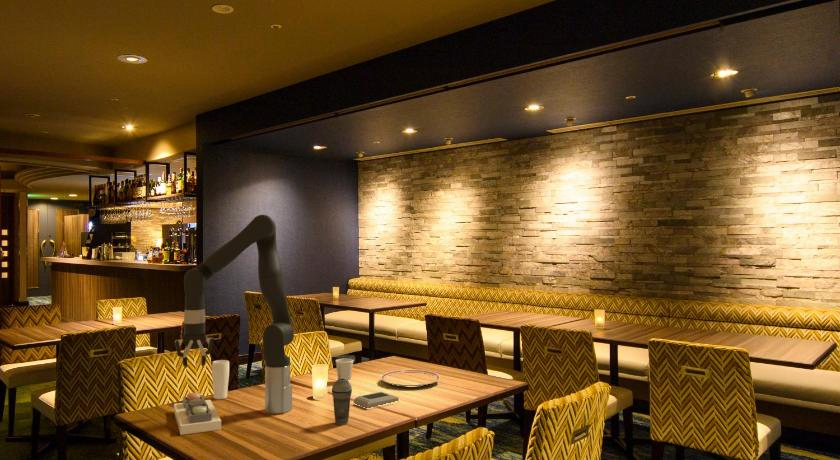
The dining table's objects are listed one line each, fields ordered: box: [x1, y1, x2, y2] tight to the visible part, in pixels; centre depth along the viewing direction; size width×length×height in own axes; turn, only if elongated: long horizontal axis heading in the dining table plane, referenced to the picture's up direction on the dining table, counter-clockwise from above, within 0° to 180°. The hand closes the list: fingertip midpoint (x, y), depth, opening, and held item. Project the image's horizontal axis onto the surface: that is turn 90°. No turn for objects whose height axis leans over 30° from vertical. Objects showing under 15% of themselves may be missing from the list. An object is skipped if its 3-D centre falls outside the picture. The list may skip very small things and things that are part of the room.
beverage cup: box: [331, 366, 353, 425], centre depth 209 cm, size 7×7×20 cm
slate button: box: [190, 399, 203, 408], centre depth 212 cm, size 5×5×2 cm
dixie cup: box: [335, 358, 355, 380], centre depth 270 cm, size 8×8×10 cm
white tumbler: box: [211, 359, 230, 400], centre depth 242 cm, size 7×7×15 cm
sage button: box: [193, 406, 207, 415], centre depth 203 cm, size 5×5×2 cm
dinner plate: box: [380, 369, 441, 386], centre depth 269 cm, size 27×27×3 cm
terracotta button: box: [186, 392, 201, 401], centre depth 221 cm, size 5×5×2 cm
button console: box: [173, 394, 222, 436], centre depth 212 cm, size 30×13×6 cm, turn 26°
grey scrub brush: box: [353, 391, 399, 408], centre depth 234 cm, size 10×4×15 cm
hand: (194, 366), depth 221 cm, fingers open, 5 cm apart
